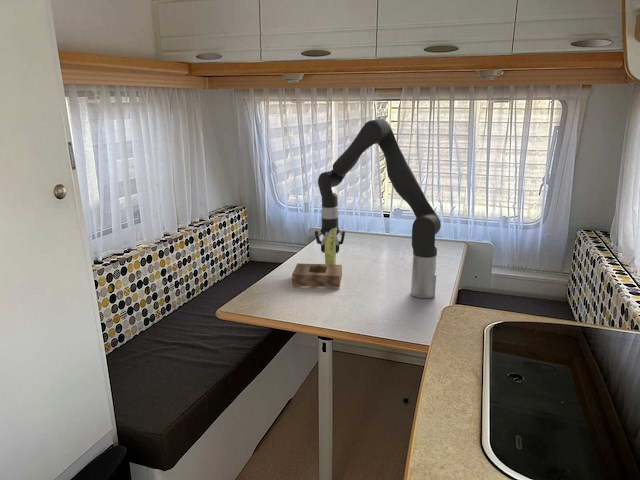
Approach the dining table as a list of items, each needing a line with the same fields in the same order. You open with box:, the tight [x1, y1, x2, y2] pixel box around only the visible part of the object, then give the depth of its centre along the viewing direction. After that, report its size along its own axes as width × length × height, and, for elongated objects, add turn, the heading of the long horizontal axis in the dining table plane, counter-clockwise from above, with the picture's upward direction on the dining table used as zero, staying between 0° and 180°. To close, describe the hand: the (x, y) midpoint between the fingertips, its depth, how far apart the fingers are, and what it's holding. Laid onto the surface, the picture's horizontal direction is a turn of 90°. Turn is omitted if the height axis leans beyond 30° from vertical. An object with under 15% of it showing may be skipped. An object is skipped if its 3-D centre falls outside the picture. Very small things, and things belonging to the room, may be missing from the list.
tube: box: [323, 227, 338, 265], centre depth 216 cm, size 6×5×20 cm
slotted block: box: [291, 262, 343, 290], centre depth 207 cm, size 20×14×6 cm
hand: (330, 252), depth 217 cm, fingers closed on tube, 5 cm apart
